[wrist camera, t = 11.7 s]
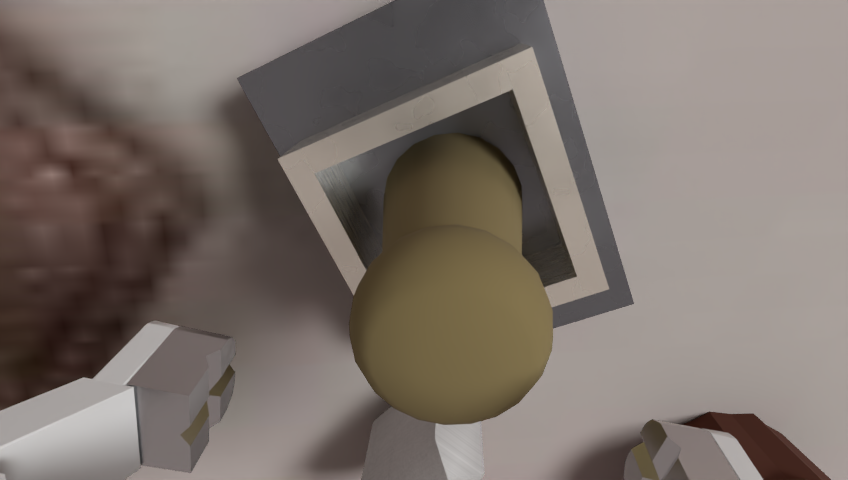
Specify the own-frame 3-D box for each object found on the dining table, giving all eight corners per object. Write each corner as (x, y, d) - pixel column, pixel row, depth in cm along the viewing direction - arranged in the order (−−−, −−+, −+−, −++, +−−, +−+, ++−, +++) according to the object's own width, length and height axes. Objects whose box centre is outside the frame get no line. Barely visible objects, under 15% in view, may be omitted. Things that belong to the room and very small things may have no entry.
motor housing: (278, 67, 24) (200, 87, 17) (509, -46, 21) (537, -80, 14) (409, 320, 30) (394, 417, 22) (604, 256, 27) (658, 342, 20)
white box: (373, 421, 33) (342, 571, 24) (438, 365, 31) (431, 509, 22) (413, 448, 34) (397, 604, 25) (479, 396, 32) (489, 547, 23)
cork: (410, 110, 19) (362, 206, 9) (547, 163, 20) (639, 307, 10) (366, 237, 22) (290, 420, 12) (489, 281, 22) (515, 491, 12)
